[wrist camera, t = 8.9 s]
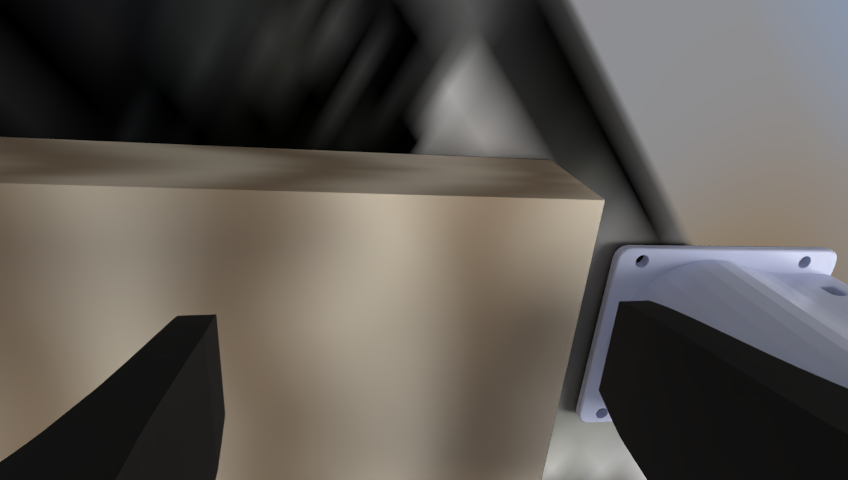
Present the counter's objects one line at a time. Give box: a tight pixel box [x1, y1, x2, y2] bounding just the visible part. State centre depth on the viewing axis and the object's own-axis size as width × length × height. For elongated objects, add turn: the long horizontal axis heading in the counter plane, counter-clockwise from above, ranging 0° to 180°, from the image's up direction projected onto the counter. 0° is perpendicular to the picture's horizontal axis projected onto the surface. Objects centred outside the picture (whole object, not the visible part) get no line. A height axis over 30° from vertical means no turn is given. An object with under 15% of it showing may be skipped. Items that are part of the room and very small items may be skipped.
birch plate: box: [0, 137, 605, 480], centre depth 19 cm, size 18×16×4 cm
